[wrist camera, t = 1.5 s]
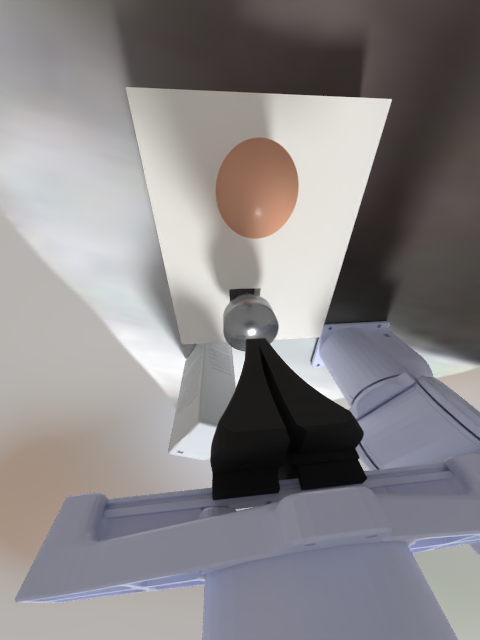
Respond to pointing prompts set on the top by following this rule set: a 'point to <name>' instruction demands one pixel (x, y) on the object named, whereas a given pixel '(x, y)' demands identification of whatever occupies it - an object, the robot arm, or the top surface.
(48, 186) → the top surface
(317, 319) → the panel
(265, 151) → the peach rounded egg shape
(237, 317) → the plug
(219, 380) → the skincare box
